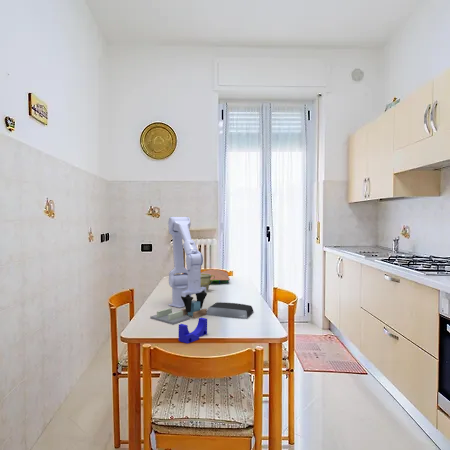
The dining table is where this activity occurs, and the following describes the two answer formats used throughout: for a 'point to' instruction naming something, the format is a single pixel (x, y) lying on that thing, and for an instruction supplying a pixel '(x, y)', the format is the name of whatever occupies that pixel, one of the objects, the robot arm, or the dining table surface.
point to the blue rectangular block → (194, 307)
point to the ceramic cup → (206, 280)
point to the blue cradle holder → (193, 336)
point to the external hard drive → (230, 310)
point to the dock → (170, 316)
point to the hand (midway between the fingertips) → (194, 309)
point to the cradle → (196, 313)
